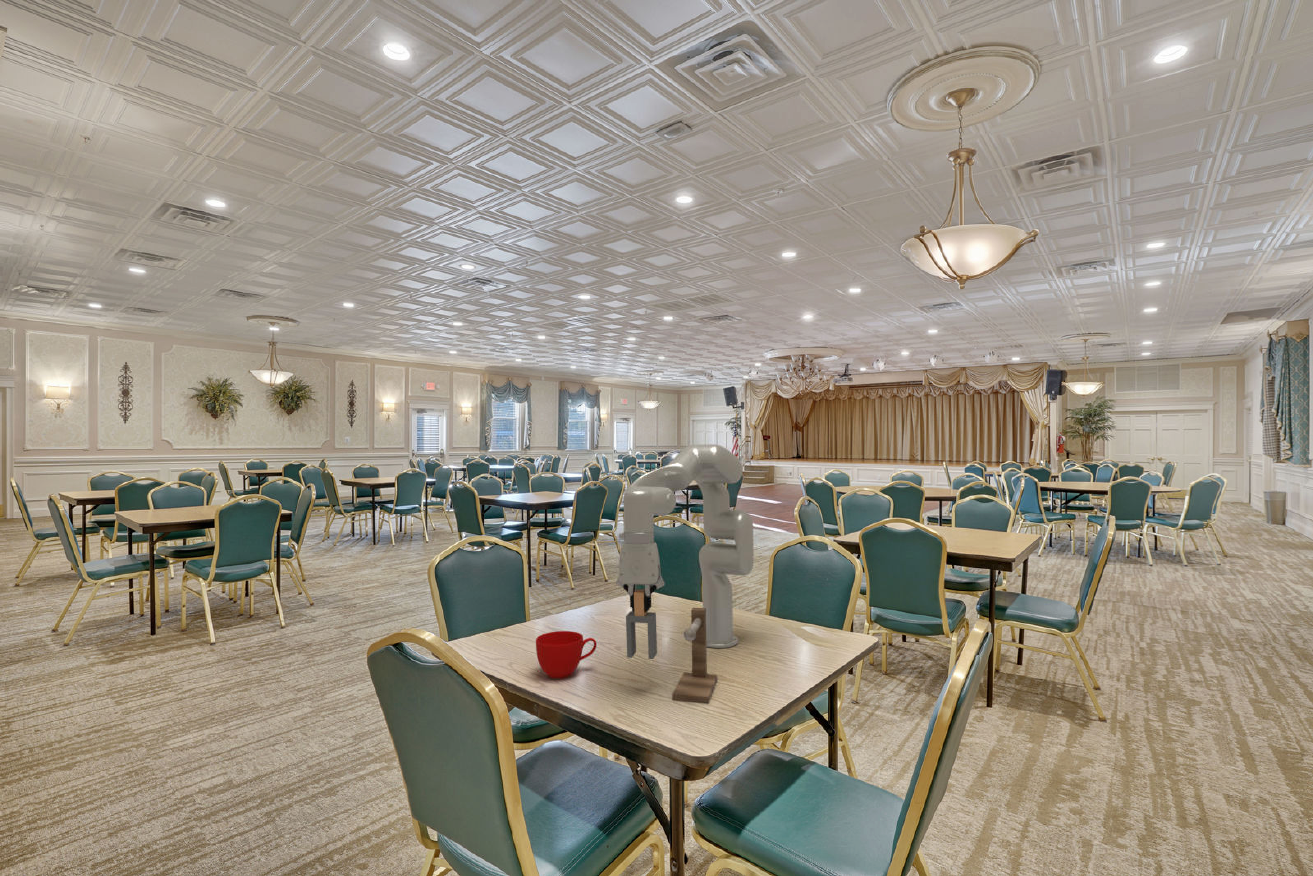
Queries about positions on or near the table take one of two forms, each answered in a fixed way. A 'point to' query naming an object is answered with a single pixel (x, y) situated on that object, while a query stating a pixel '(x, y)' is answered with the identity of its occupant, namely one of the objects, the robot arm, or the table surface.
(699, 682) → the hook stand
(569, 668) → the ceramic cup
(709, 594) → the robot arm
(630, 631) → the grey arch stand
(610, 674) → the table surface
